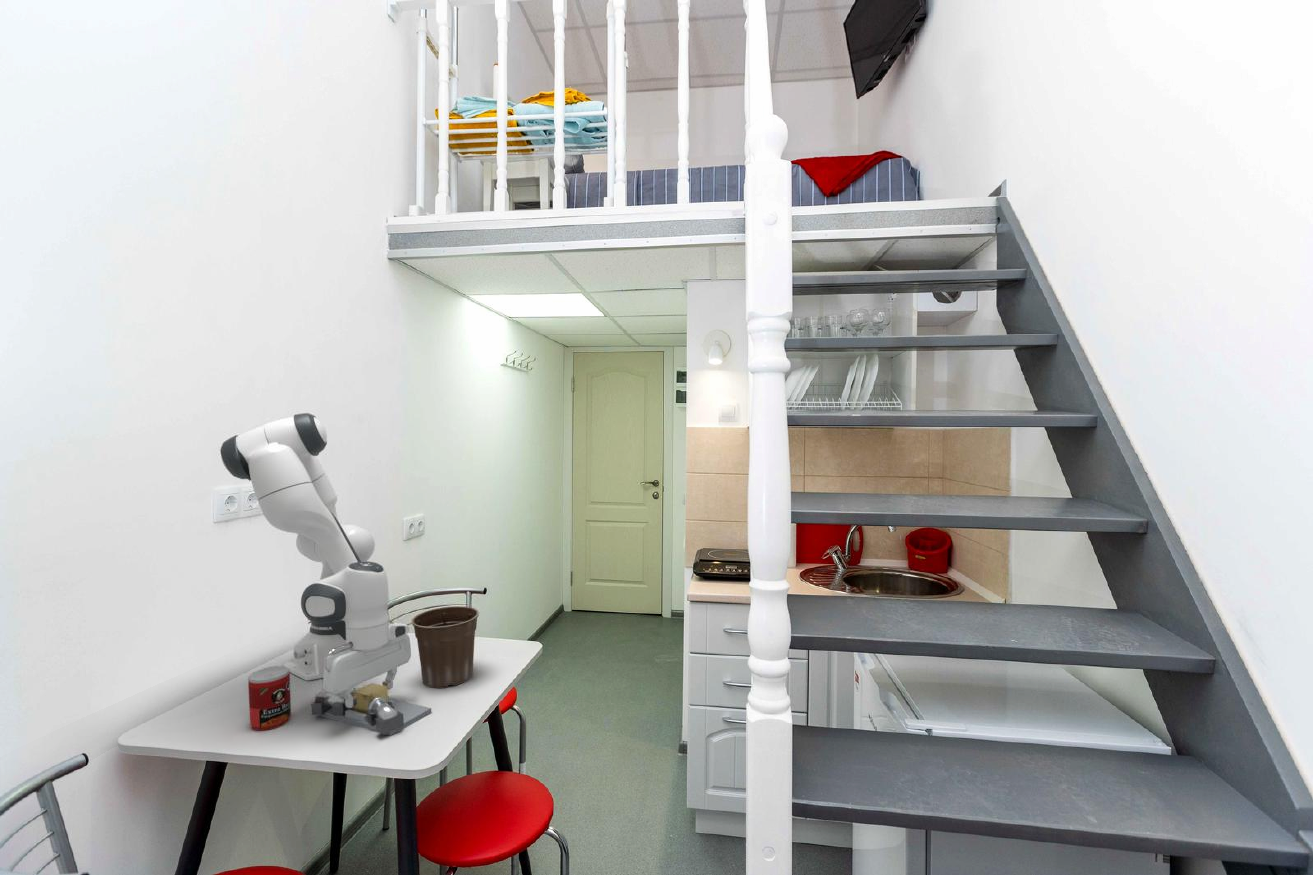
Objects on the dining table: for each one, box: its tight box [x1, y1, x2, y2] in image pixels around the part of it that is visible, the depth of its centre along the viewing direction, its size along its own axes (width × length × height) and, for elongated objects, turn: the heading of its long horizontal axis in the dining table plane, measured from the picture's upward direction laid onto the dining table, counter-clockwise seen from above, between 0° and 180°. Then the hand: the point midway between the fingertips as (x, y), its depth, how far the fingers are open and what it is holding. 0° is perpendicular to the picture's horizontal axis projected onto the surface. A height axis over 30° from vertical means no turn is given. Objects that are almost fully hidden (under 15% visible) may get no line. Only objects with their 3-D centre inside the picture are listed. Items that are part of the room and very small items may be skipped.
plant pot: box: [411, 605, 480, 689], centre depth 155 cm, size 16×16×16 cm
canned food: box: [247, 665, 292, 732], centre depth 133 cm, size 8×8×11 cm
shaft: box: [310, 689, 356, 716], centre depth 136 cm, size 8×5×4 cm, turn 84°
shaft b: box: [367, 696, 404, 735], centre depth 130 cm, size 8×5×4 cm, turn 44°
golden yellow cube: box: [353, 682, 389, 714], centre depth 136 cm, size 5×5×5 cm
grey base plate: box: [319, 697, 432, 736], centre depth 136 cm, size 23×11×2 cm, turn 64°
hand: (370, 697), depth 136 cm, fingers open, 8 cm apart
